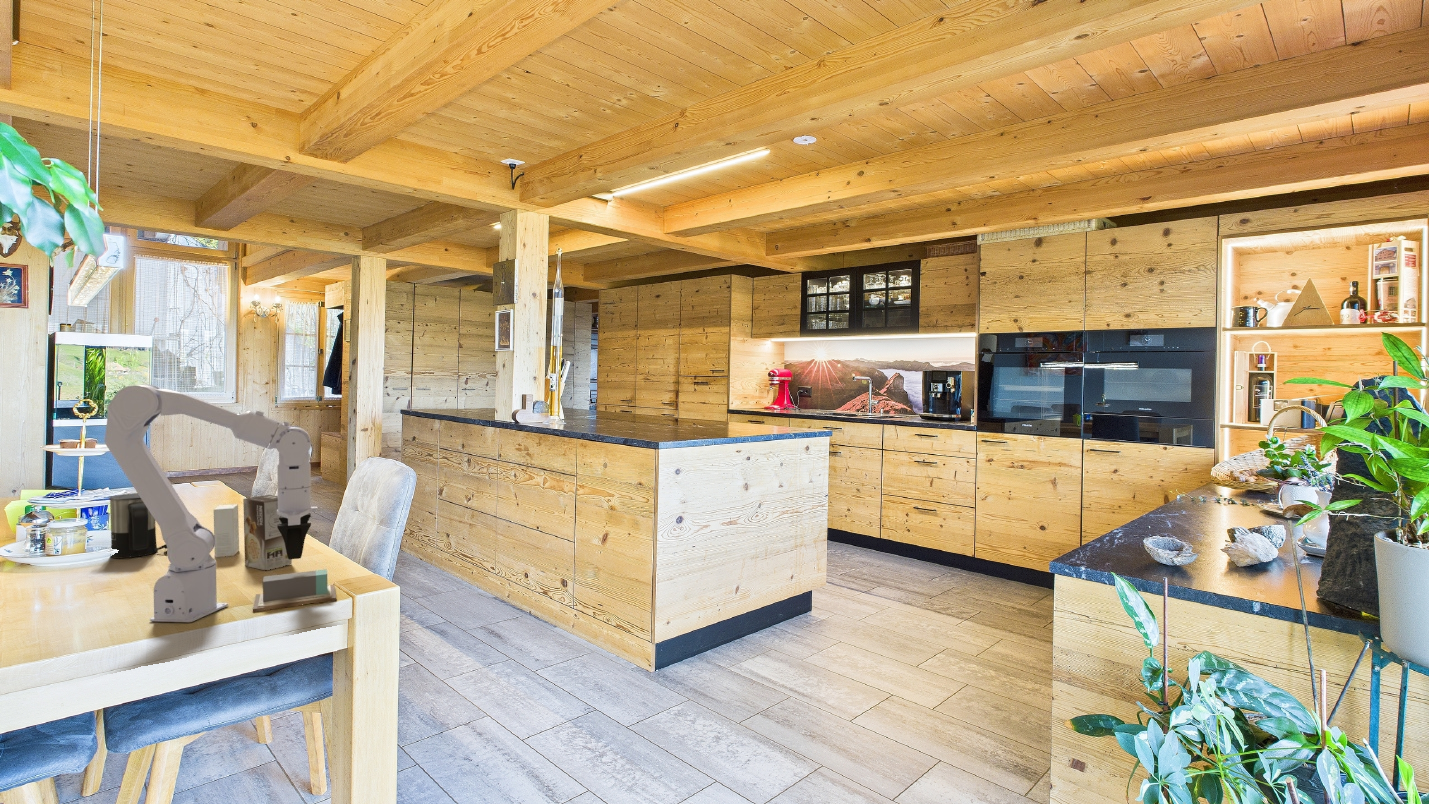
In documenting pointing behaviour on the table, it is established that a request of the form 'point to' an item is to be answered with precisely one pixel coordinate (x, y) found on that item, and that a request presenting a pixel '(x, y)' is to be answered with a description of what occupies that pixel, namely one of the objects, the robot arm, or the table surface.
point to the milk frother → (132, 527)
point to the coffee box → (263, 534)
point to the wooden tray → (293, 600)
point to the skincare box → (226, 530)
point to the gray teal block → (294, 585)
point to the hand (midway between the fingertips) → (295, 554)
